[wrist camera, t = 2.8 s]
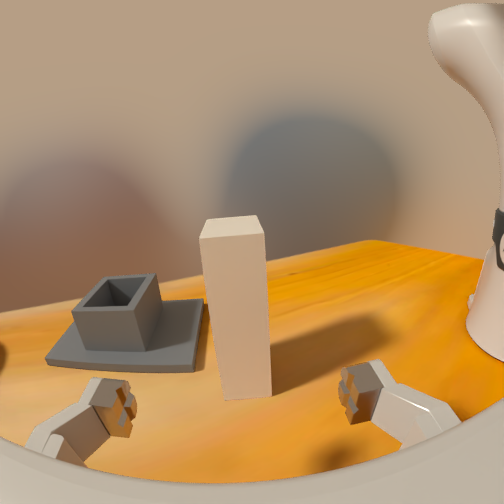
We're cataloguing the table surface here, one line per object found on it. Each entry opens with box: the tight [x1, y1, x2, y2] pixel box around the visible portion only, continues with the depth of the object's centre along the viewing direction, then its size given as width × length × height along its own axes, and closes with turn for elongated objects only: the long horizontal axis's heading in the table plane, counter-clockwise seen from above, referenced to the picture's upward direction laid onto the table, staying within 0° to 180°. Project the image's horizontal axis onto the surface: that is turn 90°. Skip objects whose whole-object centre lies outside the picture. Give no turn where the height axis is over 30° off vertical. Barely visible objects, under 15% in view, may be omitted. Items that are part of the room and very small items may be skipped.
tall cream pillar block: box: [199, 215, 272, 400], centre depth 23 cm, size 4×6×14 cm, turn 4°
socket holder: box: [45, 273, 204, 373], centre depth 31 cm, size 18×14×6 cm
